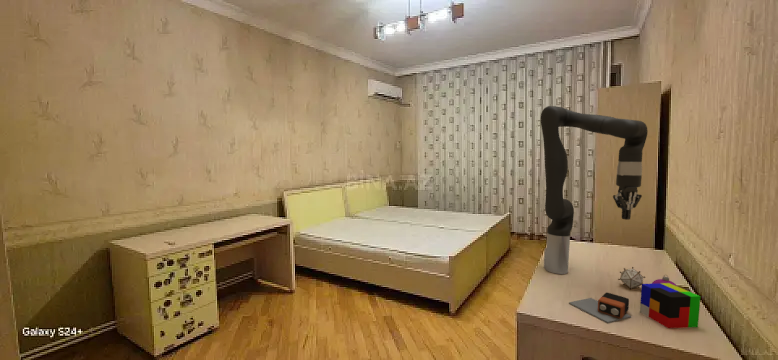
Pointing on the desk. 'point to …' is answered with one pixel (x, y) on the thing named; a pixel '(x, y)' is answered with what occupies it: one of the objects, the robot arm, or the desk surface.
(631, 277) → the game die
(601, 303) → the battery
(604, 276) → the desk surface
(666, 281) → the christmas ornament
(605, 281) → the desk surface
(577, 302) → the mat
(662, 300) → the puzzle toy
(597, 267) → the desk surface
